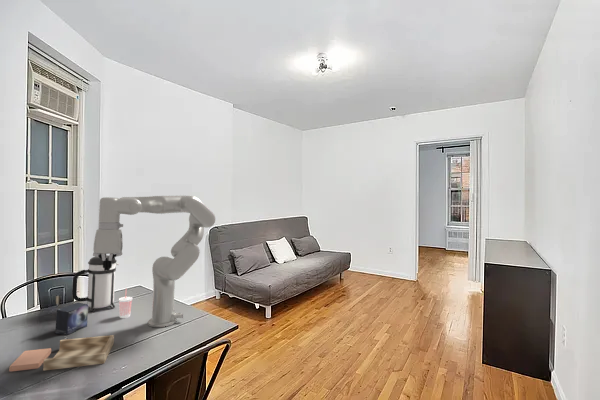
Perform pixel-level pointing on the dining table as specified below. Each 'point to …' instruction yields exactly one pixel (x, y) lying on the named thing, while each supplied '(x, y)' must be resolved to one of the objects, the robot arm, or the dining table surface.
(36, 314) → the dining table surface
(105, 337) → the wooden tray
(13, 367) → the cover plate
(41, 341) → the dining table surface
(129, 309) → the beverage cup
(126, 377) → the dining table surface
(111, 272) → the coffee press
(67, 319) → the small box
